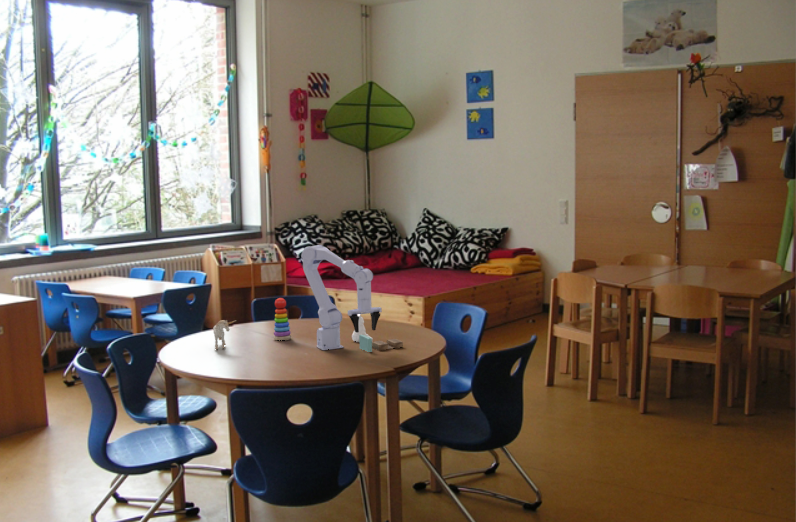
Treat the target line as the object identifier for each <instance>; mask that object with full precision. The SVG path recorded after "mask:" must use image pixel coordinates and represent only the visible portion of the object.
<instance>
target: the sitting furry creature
mask: <svg viewBox="0 0 796 522" xmlns="http://www.w3.org/2000/svg"><path fill="white" fill-rule="evenodd" d="M358 317H359V323H358V326H359V332H355V329H354V330H353V332H352V334H351V339H352V341H353V342H355V341H356V342H355V343H359V335H365V336H367V337H370V338H372V342H374V341H373V340H374V339H373V337H371V336H370V335H369V334H368V333H367V332H366V327H365V324H364V323H365V320H364V317H362V314H358Z"/></svg>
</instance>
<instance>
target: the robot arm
mask: <svg viewBox="0 0 796 522" xmlns="http://www.w3.org/2000/svg"><path fill="white" fill-rule="evenodd" d="M300 256H301V259H302V268H303V272H304V275H305V277H306V279H307V282H308V284H309V287H310V288H311V291H312V294H313V297H314V298H315V300H316V303H317V306H318V307H319V309H318V311H317V314H318V321H319V324H320V325H321V327H318V328H317V329H316V347H317V348H318V349H319V350H322V351H328V349H329V350H335V349H337V350H338V349H342V348H344V347H345V346H343V345H342V344H341V333H340V332H341V329H340V328H341V327H340V325H341V322H342V321H343V314H342V312H341V311H340V310H339V309H338V307H337V305H336V304H334V303H332V301H331V298H330V296H329V293H328V291H327V289H326V287H325V285H324V282H323V279H322V277H321V275H320V273H319V270H318V268H319V265H320V263H321V262H322V261H327V262H329V263H331V264H333V265H335V266H337V267H338V268H340V270H341V272H342V273H343V274H344V275H346V276H347V277H350V278H352V279H353V280H354V282H355V284H356V292H357V293H356V296H357V297H356V298H357V301H356V302H357V308H355V309H354V308H353V309H349V310H347V316H349V319H350V321H351V322H352V325H353V328H354V330H355V332H359V326H358V323H359V317H358V314H361V315H365V314H370V320H371V331H376V328H377V324H378V321H379V319H380V317H381V313H382V311H383V310H382V307H380V306H379V307H375V306H374V307H373V306H372V280H373V279H374V273H373V272H372V270H370V269H369V268H364V266H362V265H358V264H357V263H355V261H354V260H352V259H351V260H350V259H347V260H344V259H343V258H341V257H339V255H337V254H336V253H334V252H332V251H331V250H329V249H328V248H327V247H326V246H324V245H322V244H317V245H312V246H311V245H310V246H306V247H304V249H303V250H302V252H301V254H300Z"/></svg>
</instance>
